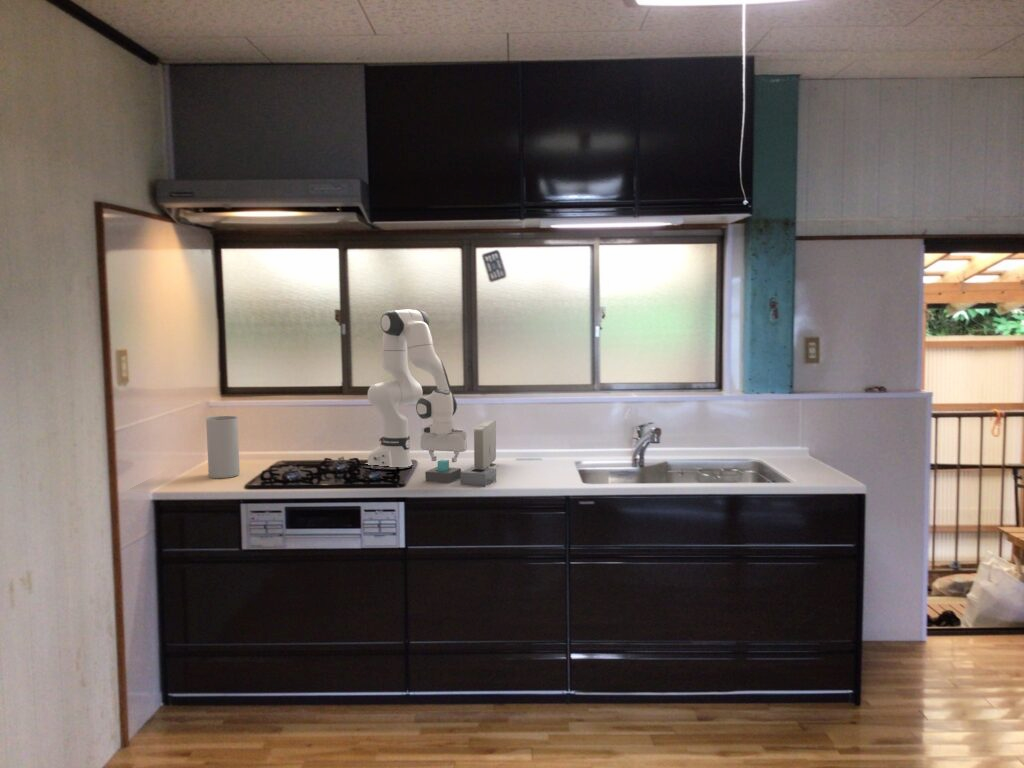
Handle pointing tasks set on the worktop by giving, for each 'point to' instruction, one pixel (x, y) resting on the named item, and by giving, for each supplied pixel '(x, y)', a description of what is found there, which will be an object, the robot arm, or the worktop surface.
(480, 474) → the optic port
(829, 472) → the worktop surface
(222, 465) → the cylinder vase
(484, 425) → the network device
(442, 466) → the plug
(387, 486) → the worktop surface
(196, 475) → the worktop surface
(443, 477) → the holster
